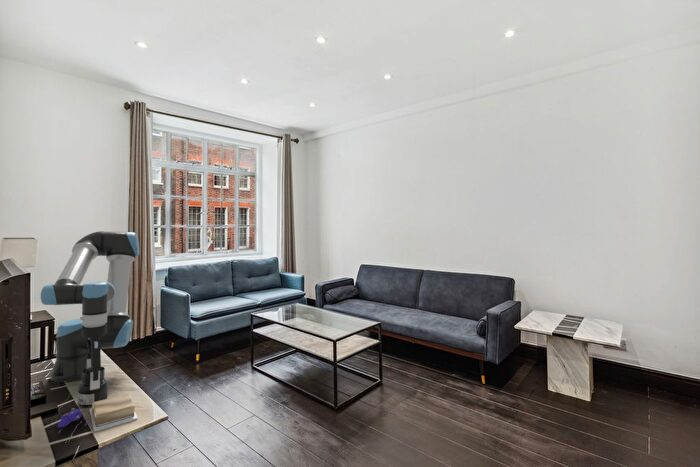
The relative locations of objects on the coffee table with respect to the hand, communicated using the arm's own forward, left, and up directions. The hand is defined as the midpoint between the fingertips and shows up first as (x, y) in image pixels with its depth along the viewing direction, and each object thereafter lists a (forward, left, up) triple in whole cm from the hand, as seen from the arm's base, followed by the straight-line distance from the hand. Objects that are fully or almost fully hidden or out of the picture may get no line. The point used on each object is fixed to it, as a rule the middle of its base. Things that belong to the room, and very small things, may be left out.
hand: (92, 382), depth 129 cm
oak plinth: (+14, +5, -8) cm, 16 cm away
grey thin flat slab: (+14, +5, -8) cm, 16 cm away
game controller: (+14, -6, -8) cm, 17 cm away
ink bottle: (0, 0, -8) cm, 8 cm away
